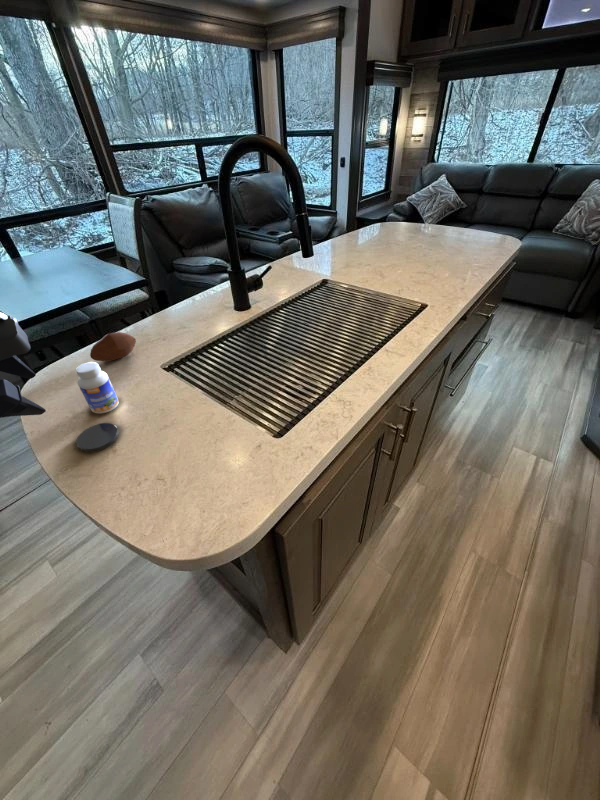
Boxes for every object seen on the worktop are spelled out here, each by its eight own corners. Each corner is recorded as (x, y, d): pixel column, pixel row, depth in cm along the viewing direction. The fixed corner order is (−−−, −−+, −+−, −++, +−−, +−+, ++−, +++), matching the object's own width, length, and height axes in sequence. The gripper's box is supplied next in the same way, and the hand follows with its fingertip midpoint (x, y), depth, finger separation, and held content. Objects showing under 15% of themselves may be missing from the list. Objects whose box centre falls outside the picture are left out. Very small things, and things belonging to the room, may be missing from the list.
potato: (89, 362, 84) (78, 339, 80) (131, 344, 91) (123, 323, 87) (100, 370, 81) (90, 347, 77) (143, 351, 88) (135, 329, 84)
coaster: (98, 456, 59) (97, 453, 58) (69, 446, 61) (67, 443, 60) (127, 430, 64) (125, 427, 64) (98, 422, 66) (97, 419, 65)
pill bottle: (97, 417, 67) (76, 378, 61) (87, 406, 70) (66, 367, 64) (123, 405, 70) (106, 366, 64) (113, 394, 73) (96, 356, 67)
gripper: (-12, 351, 40) (91, 402, 54) (-27, 273, 49) (65, 334, 63) (-92, 406, 39) (33, 444, 53) (-92, 317, 48) (15, 369, 62)
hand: (38, 393), depth 58 cm, fingers open, 9 cm apart
